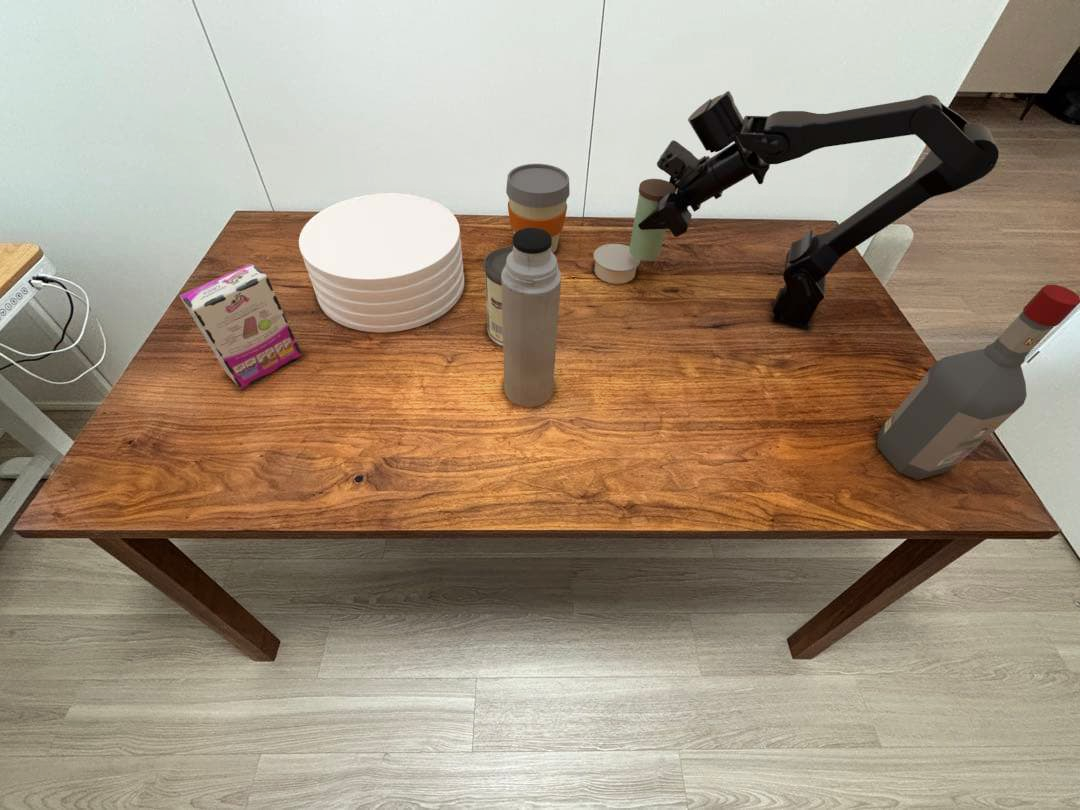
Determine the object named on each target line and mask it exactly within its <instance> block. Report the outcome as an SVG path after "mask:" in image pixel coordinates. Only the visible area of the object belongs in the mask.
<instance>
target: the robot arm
mask: <svg viewBox="0 0 1080 810" xmlns="http://www.w3.org/2000/svg"><path fill="white" fill-rule="evenodd" d="M734 99H735V98H734V97H733V95H732V93H731V92H730V91H729V90H727V91H726V92H724V93H723V94H719V95H717V96H716V97H714V98H709V99H708V100H707V101H705V102H704V103H703V104H701V105H700V106H699V107H698V108H697V109H695V111H693V112H692V113H691V114H690V116H689V117H688V118H687V121H688V124H689V125H690V127H691V128H692V130H693V132H694V133H695V134H696V137H697V138H698V140H699V142H700V143H701V145H702V147H703V148H704V149H705V151H706V152H708V151H709V152H710V153H715V154H714V155H713V156H711V157H710V156H709V155H707V156H706V155H704V156H702V157H701V158H697V157H696V156H695V155H694V154H693V152H691V151H690V150H689V149H688V148H686V147H685V146H684V145H682V144H681V143H680V142H678V141H677V140H673V139H672V140H671V141H670V142H669V143H668V145H667V147H666V148H665V149H664V151H663V152H662V154H660V156H659V158H658V160H657V162H656V166H657V167H658V168H659V170H661V171H663V172H664V173H666V174H667V175H669V180H668V182H670V183H672V184H673V185H674V186H675V188H676V192H675V193H669V194H667V195H665V196H664V197H663V196H662V195H661V197H660V199H659V201H658V204H657V209H655V210H654V211H653V212H652V213H651V214H650V215H648V216H647V217H646V218H645V219H644V220H643V221H641V222H640V223H639V224H638V227H639V228H640V229H641V230H650V229H666V230H669V231H670V232H671V234H672V235H673V236H674V237H675V238H678V237H680V236H682V235H684V234H686V233H687V231H688V229H689V226H690V223H691V221H692V213H691V212H690V210H689V207H691V209H692V211H693V212H694V213H695V212H697V211H698V210H700V208H701V206H702V204H703V203H705V202H707V201H709V200H710V199H712V198H714V199H715V200H718V199H720V198H721V197H723V196H722V195H723V192H724V191H726V190H728V189H730V188H731V187H732V186H734V185H736V184H738V183H740V182H741V181H743V180H745V179H747V178H748V177H750V176H752V175H753V177H754V179H755V181H756V182H757V184H758V185H763V183H764V181H765V176H766V175H767V172H768V171H769V170H770V168H771V165H779V164H783V163H787V162H790V161H794V160H796V159H799V158H802V157H804V156H806V155H808V154H810V153H812V152H814V151H816V150H817V151H818V150H819V149H823V148H829V147H836V146H842V145H843V146H844V145H850V144H856V143H863V142H870V141H878V140H879V141H880V140H885V139H892V138H898V137H899V138H900V137H907V136H916V137H917V138H918V139H920V140H921V141H922V142H923V143H924V144H925V145H926V146H927V148H928V149H929V150H930V151H929V152H928V153H927V155H926V156H925V157H924V158H923V160H922V161H921V162H920V163H919V164H918V166H917V167H916V168H915V169H914V170H913V171H912V172H910V174H908V175H907V176H906V177H904V178H903V179H901V180H900V181H898V182H897V183H895V184H894V185H892V186H891V187H890V188H888V189H887V190H885V191H884V192H883V193H881V194H880V195H878V196H877V197H875V198H874V199H873V200H871V201H870V202H869V203H867V204H866V205H865V206H863V207H862V208H860V209H859V210H857V211H856V212H855V213H853V214H852V215H851V216H849V217H848V218H846V219H845V220H844V221H842V222H840V223H839V224H838V225H836V226H835V227H833V228H832V229H831V230H829V231H827V232H824V233H821V234H815V232H814V231H813V230H812V229H811V230H809V231H808V232H806V233H805V234H804V235H803V236H802V237H801V238H799V239H798V240H796V241H792V242H791V245H790V248H789V250H788V251H787V253H786V257H785V262H784V269H783V276H782V278H783V281H784V283H785V284H784V286H783V287H780V288H779V289H778V291H777V294H776V296H775V298H774V300H773V301H772V307H771V312H772V314H773V317H772V321H773V322H774V323H777V324H781V325H786V326H790V327H791V326H792V327H796V328H800V329H805V330H809V329H810V327H811V320H812V317H813V316H814V313H815V311H816V310H817V308H818V306H819V305H820V303H821V302H822V301H823V300H824V299H825V295H826V294H825V291H826V279H827V275H828V274H829V273H830V271H831V270H832V269H833V268H834V267H835V265H836V264H837V262H838V261H839V260H840V259H841V258H842V257H843V256H844V255H846V254H847V253H849V252H850V251H852V250H853V249H856V247H858V246H859V245H861V244H862V243H864V242H865V241H867V240H869V239H870V238H871V237H873V236H875V235H876V234H878V233H879V232H881V231H882V230H884V229H885V228H888V226H890V225H892V224H893V223H894V222H896V221H897V220H899V219H901V218H902V217H904V216H905V215H907V214H909V212H911V211H912V210H913V211H914V210H915V209H916V208H917V207H919V206H921V205H922V204H923V203H925V202H926V201H928V200H930V199H932V198H935V197H938V196H941V195H945V194H949V193H953V192H957V191H959V190H961V189H963V188H965V187H967V186H969V185H971V184H973V183H975V182H977V181H979V180H981V179H983V178H985V177H986V176H987V175H988V174H990V173H991V172H993V170H994V169H995V167H996V164H997V163H998V159H999V156H1000V155H999V148H998V146H997V143H996V141H995V139H994V135H993V134H992V131H991V130H990V128H989V127H988V126H987V125H985V124H983V123H982V124H981V123H977V122H974V123H973V122H972V123H969V122H968V120H966V119H965V118H964V117H963V116H961V114H959V113H958V112H956V111H955V110H953V109H951V108H949V107H948V106H946V105H945V104H943V103H942V102H941V100H940V99H939V98H938V97H937V96H936V95H932V94H925V95H921V96H919V97H916V98H911V99H906V100H905V99H904V100H899V101H895V102H894V101H893V102H887V103H881V104H875V105H871V106H864V107H858V108H852V109H847V110H840V111H835V112H828V113H816V112H811V111H805V110H780V111H775V112H774V113H772V114H770V115H745V116H744V117H743V116H742V114H741V112H740V110H739V109H738V107H737V105H736V103H735V100H734Z"/></svg>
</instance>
